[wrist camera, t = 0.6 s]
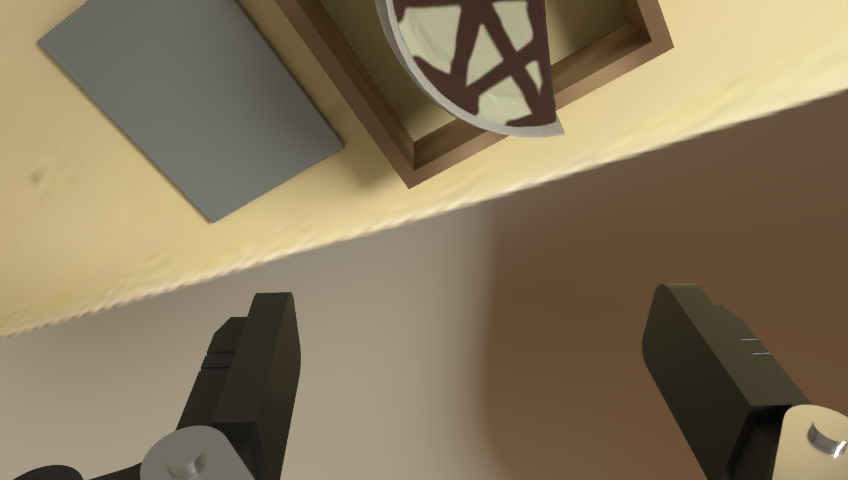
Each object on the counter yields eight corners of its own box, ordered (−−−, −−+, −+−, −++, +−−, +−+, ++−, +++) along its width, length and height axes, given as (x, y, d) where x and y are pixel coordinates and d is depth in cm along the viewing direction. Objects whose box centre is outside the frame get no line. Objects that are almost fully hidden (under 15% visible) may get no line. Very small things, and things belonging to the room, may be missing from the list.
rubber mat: (182, -74, 27) (180, -73, 27) (344, 144, 33) (343, 147, 33) (40, 39, 30) (36, 41, 30) (214, 220, 36) (212, 223, 36)
